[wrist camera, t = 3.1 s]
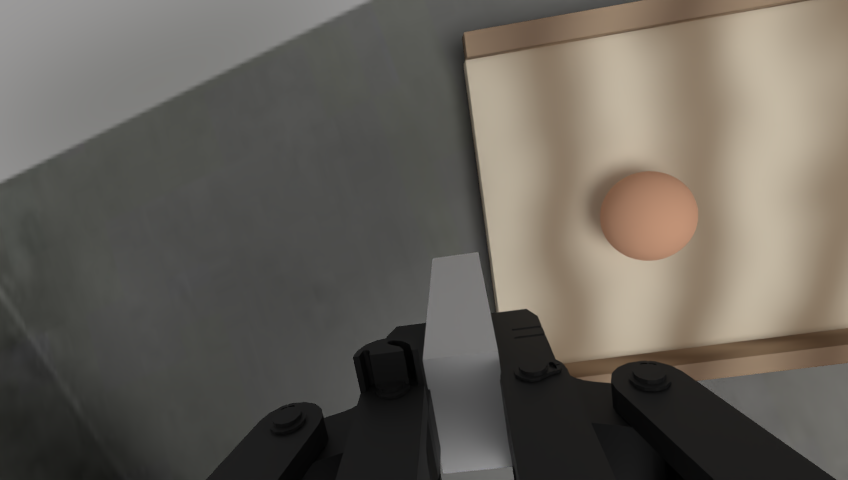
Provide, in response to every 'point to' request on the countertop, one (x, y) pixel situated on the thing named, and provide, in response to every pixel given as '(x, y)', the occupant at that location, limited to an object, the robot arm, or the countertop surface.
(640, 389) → the robot arm
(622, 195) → the ball
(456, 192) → the countertop surface
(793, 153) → the wooden tray
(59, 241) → the countertop surface
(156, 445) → the countertop surface
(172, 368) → the countertop surface
